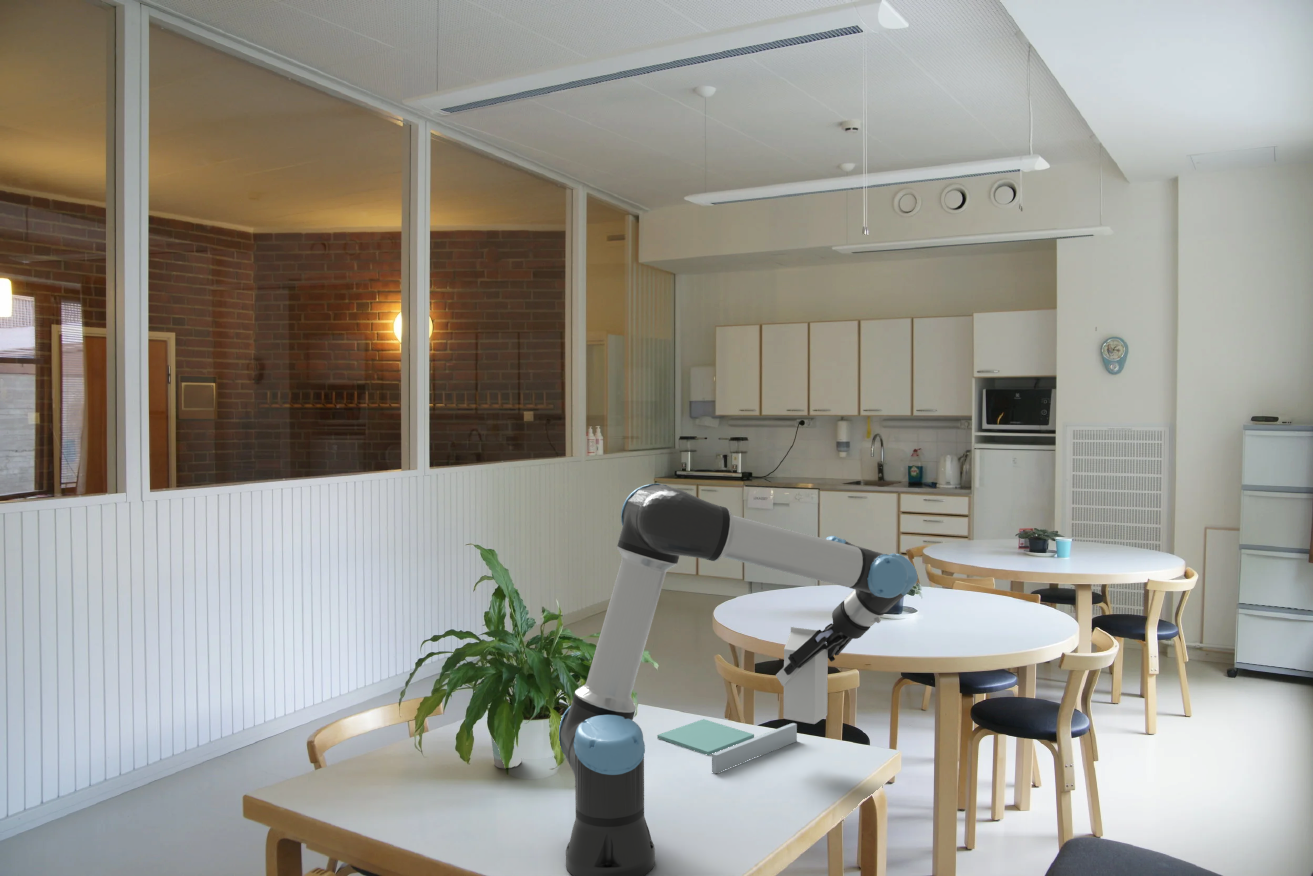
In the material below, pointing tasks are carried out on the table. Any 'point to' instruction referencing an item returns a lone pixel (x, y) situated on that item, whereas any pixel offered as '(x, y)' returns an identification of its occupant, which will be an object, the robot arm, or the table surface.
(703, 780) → the table surface
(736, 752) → the acrylic wall
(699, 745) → the teal board
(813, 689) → the milk carton
